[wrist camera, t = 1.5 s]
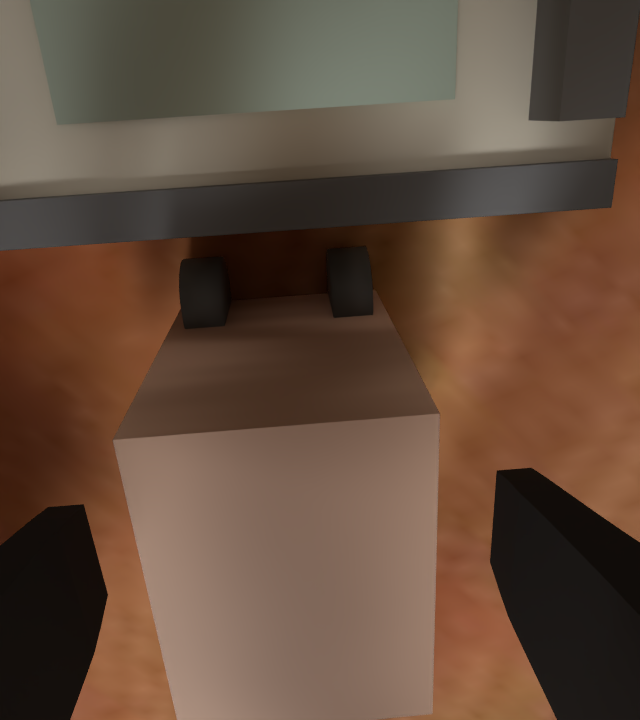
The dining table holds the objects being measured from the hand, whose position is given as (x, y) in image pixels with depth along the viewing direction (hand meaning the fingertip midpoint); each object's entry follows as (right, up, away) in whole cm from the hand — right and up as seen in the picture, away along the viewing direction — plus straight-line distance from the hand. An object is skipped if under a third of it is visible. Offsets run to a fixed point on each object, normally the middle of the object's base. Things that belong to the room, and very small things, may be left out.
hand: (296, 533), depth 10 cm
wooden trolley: (0, +2, +4) cm, 5 cm away
